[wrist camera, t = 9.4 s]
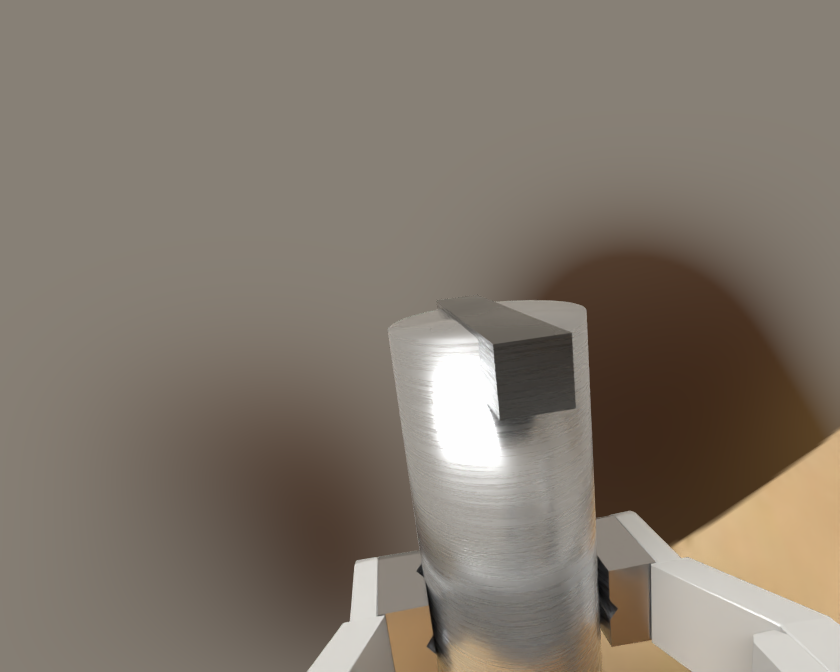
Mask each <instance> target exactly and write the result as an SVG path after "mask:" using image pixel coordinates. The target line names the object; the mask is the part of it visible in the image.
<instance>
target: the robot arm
mask: <svg viewBox="0 0 840 672" xmlns="http://www.w3.org/2000/svg"><path fill="white" fill-rule="evenodd" d="M595 519H596V542H597V564H598V587H599V610H600V628H601V630H602V632H603V633H604V635H605V637H606V638H607V640H608V641H609V643H610V645H611V646H612V647H614V646H620V645H626V644H631V643H637V642H643V641H649V640H652V643H653V644H655V645H656V646H657V647H659V648H660V649H662V650H663V651H664V652H666V653H667V654H668V655H670V656H671V657H672V658H674V659H675V660H677V661H678V662H679V663H681V664H682V665H683V666H685V667H686V668H688V669H689V670H690V671H692V672H840V625H839V624H838V623H837V622H835V621H834V620H833V619H832V618H830V617H829V616H826V615H824V614H821V613H819V612H817V611H814V610H812V609H810V608H807V607H805V606H803V605H800V604H798V603H795V602H793V601H791V600H788V599H786V598H784V597H781V596H779V595H776V594H774V593H772V592H769V591H767V590H765V589H762V588H760V587H757V586H755V585H753V584H750V583H748V582H746V581H743V580H741V579H738V578H736V577H734V576H731V575H729V574H727V573H724V572H722V571H720V570H717V569H715V568H712V567H710V566H708V565H705V564H703V563H701V562H698V561H696V560H693V559H691V558H689V557H686V558H681V557H680V556H679V555H678V554H677V553H676V552H675V551H674V550H673V549H671V548H670V547H669V546H668V545H667V544H666V543H665V542H664V541H663V540H662V539H661V538H660V537H659V536H658V535H657V534H656V533H655V532H654V531H653V530H652V529H651V528H650V527H649V526H648V525H647V524H646V523H645V522H644V521H643V520H642V519H641V518H640V517H639V516H638V515H637V514H636V513H635V512H632V511H627V512H622V513H618V514H613V515H610V516H606V517H601V518H595ZM307 672H438V666H437V658H436V651H435V643H434V636H433V629H432V623H431V615H430V608H429V601H428V595H427V588H426V582H425V578H424V577H423V570H422V563H421V556H420V550H418V551H412V552H405V553H399V554H392V555H386V556H380V557H379V558H377V557H376V558H369V559H363V560H357V561H356V563H355V567H354V579H353V592H352V604H351V616H350V622H346V623H343V624H342V625H341V627H340V628H339V630H338V631H337V632H336V634H335V635H334V636H333V638H332V639H331V640H330V642H329V643H328V644H327V646H326V647H325V648H324V650H323V651H322V652H321V654H320V655H319V657H318V658H317V659H316V661H315V662H314V663H313V664H312V666H311V667H310V669H309V670H308V671H307Z"/></svg>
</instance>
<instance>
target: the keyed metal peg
mask: <svg viewBox="0 0 840 672" xmlns="http://www.w3.org/2000/svg"><path fill="white" fill-rule="evenodd" d="M437 308H438V310H434V311H430V312H425V313H421V314H417V315H414V316H410V317H408V318H405V319H402V320H399V321H397V322H395V323H394V324H392V325H391V326H390V327H389V328H388V336H389V343H390V350H391V356H392V363H393V370H394V377H395V384H396V391H397V398H398V405H399V411H400V418H401V425H402V432H403V439H404V446H405V453H406V459H407V466H408V473H409V480H410V487H411V494H412V501H413V508H414V515H415V521H416V528H417V535H418V542H419V549H420V556H421V563H422V570H423V577H424V578H425V582H426V588H427V595H428V601H429V608H430V615H431V623H432V629H433V636H434V643H435V651H436V658H437V666H438V672H602V655H601V632H600V610H599V587H598V564H597V542H596V519H595V497H594V474H593V451H592V429H591V408H590V407H591V406H590V384H589V361H588V339H587V317H586V309H585V308H584V307H583V306H581V305H578V304H575V303H569V302H562V301H548V300H520V301H502V302H494V301H491V300H489V299H486V298H484V297H481V296H479V295H473V296H465V297H458V298H452V299H444V300H437Z"/></svg>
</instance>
